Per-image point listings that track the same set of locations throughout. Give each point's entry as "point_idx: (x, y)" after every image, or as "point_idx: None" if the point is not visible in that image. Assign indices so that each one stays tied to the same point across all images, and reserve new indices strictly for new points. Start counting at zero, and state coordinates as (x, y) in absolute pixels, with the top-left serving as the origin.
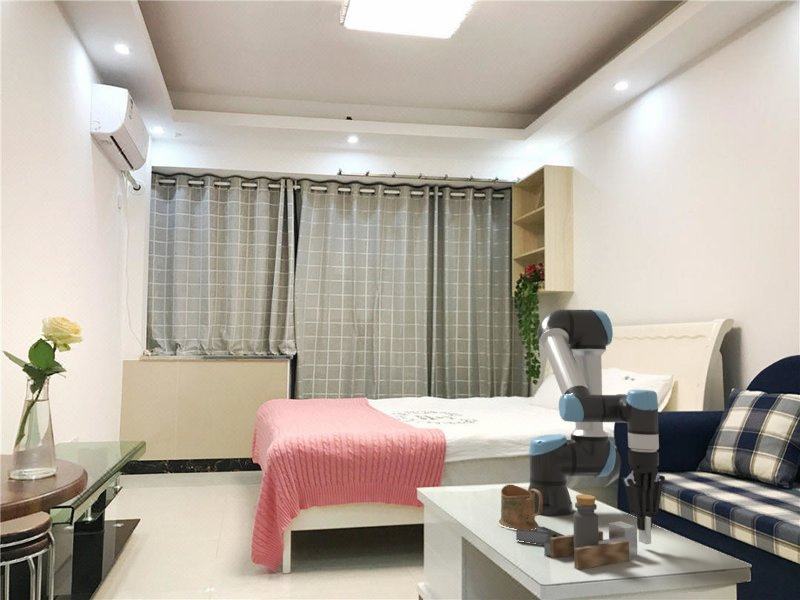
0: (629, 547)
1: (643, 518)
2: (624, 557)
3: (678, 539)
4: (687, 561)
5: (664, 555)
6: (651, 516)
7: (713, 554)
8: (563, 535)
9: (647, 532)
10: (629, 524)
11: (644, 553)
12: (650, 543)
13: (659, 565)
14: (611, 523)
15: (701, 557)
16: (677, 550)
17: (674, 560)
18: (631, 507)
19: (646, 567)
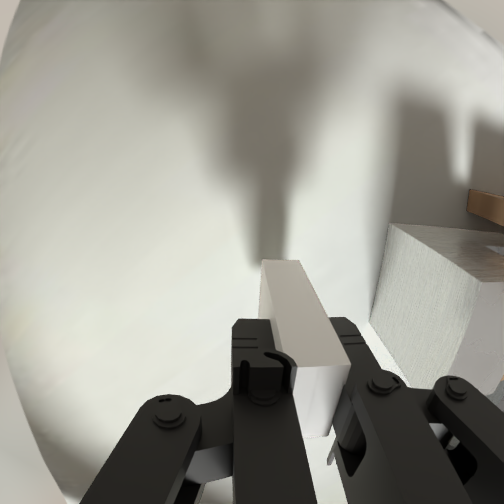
0: (456, 239)
1: (355, 379)
2: (498, 196)
3: (8, 307)
4: (227, 32)
5: (259, 154)
6: (285, 371)
7: (16, 83)
8: (502, 400)
9: (307, 294)
10: (461, 347)
11: (332, 229)
12: (269, 259)
13: (413, 73)
14: (498, 381)
15: (97, 56)
16: (113, 189)
17: (281, 72)
18: (475, 459)
19: (472, 97)
